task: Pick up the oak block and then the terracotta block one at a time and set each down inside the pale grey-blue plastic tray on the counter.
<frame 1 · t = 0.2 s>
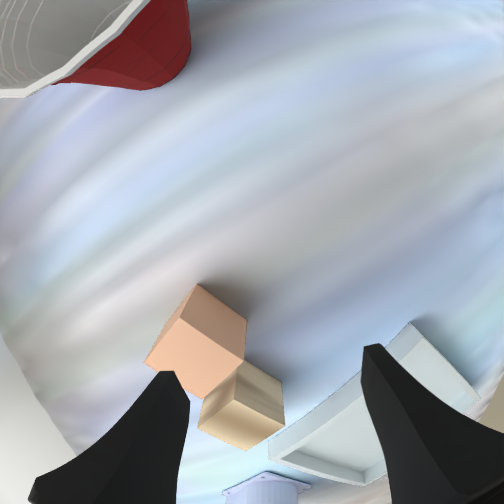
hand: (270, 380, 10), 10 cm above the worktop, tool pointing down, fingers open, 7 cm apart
oak block: (243, 384, 22), on the worktop
plastic cup: (151, 58, 16), on the worktop
terracotta block: (204, 322, 21), on the worktop
grey tray: (382, 419, 24), on the worktop
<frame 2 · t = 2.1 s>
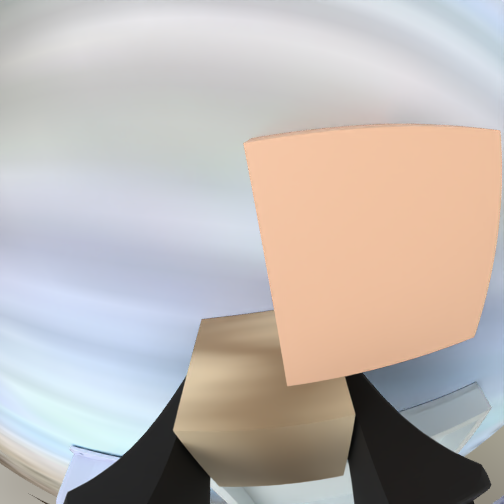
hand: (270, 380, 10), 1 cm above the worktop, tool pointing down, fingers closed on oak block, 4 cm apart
oak block: (269, 355, 11), on the worktop, touching gripper
terracotta block: (333, 198, 9), on the worktop
grey tray: (344, 470, 17), on the worktop
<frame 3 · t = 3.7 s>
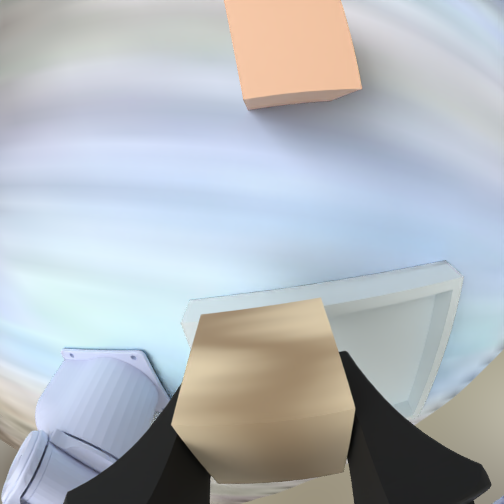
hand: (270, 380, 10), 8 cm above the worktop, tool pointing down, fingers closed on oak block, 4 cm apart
oak block: (268, 351, 11), point 7 cm above the worktop, touching gripper
terracotta block: (282, 66, 13), on the worktop
grey tray: (329, 367, 21), on the worktop
when the fingers open (3 cm above the worktop, at t = 5.8 s): oak block drops 1 cm, resting on grey tray.
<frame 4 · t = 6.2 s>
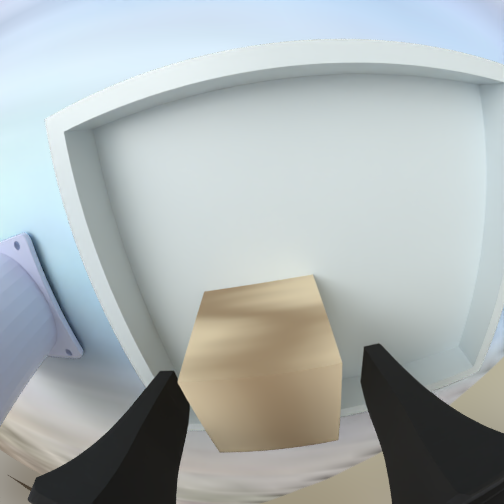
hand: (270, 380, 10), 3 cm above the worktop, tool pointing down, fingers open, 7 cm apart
oak block: (266, 326, 12), resting on grey tray
grey tray: (328, 258, 12), on the worktop
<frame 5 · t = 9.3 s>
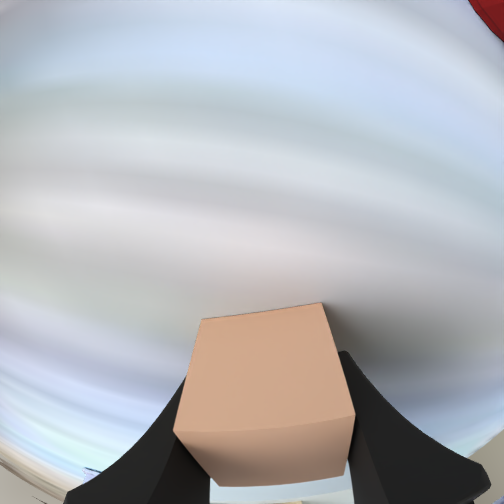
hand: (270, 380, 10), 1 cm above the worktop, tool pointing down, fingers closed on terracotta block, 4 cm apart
terracotta block: (269, 355, 11), on the worktop, touching gripper
grey tray: (309, 494, 19), on the worktop
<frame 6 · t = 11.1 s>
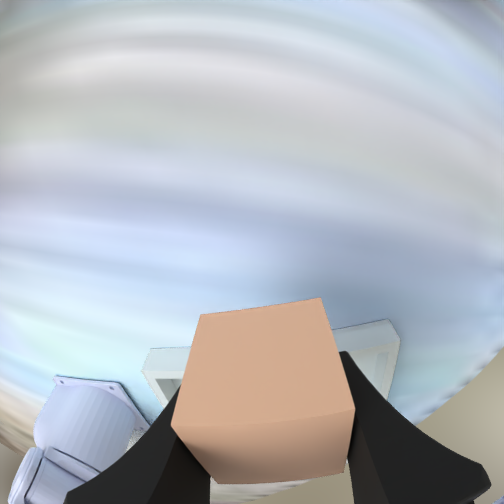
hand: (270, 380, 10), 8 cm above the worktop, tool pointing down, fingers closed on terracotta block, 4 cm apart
terracotta block: (268, 351, 11), point 7 cm above the worktop, touching gripper
grey tray: (279, 404, 23), on the worktop
when the fingers open (3 cm above the worktop, at t = 13.1 s): terracotta block drops 1 cm, resting on grey tray.
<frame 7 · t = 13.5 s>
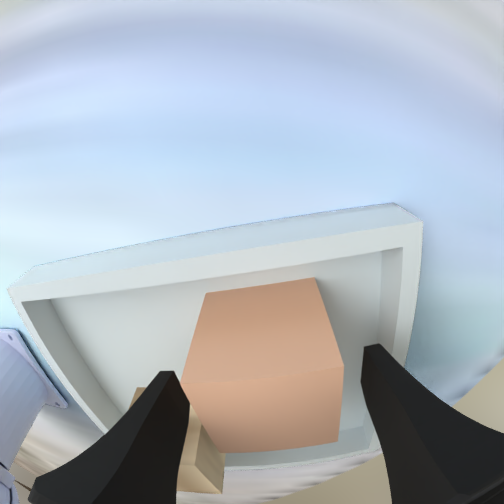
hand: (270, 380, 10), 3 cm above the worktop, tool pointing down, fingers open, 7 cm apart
oak block: (183, 409, 15), resting on grey tray
terracotta block: (267, 328, 13), resting on grey tray
grey tray: (221, 374, 15), on the worktop
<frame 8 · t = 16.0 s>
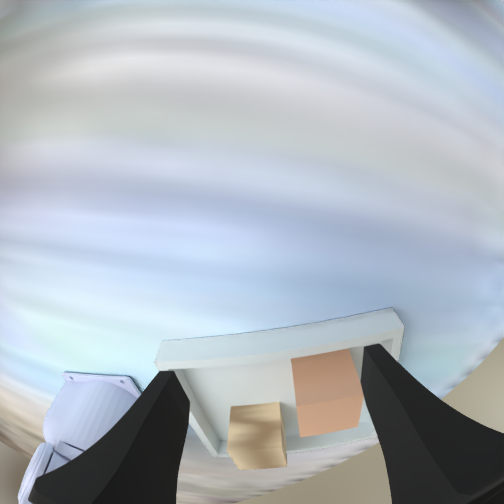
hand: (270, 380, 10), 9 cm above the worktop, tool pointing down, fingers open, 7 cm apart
oak block: (258, 416, 24), resting on grey tray
terracotta block: (320, 369, 22), resting on grey tray
grey tray: (287, 394, 24), on the worktop
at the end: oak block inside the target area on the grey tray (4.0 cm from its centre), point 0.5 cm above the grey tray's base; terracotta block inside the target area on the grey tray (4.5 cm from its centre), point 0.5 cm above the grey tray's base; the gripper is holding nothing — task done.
